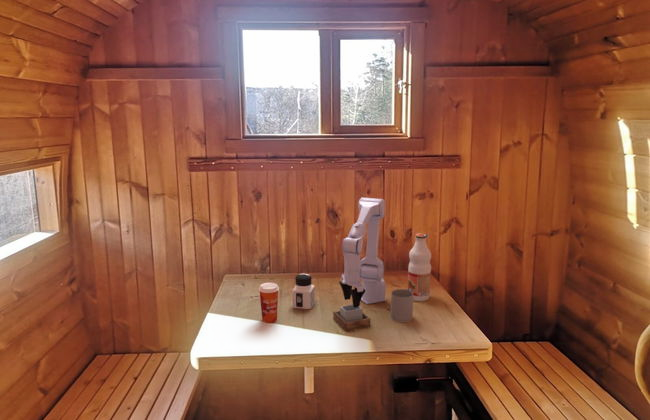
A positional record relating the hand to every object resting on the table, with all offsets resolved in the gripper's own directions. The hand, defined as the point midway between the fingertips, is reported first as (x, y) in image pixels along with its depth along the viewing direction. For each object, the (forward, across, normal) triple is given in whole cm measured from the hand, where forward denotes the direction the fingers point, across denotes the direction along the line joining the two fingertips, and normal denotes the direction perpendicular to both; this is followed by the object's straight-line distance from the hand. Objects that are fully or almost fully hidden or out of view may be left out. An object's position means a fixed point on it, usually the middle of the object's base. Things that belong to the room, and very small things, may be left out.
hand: (351, 302), depth 188 cm
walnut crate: (+8, 0, 0) cm, 8 cm away
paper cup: (+8, -14, -28) cm, 33 cm away
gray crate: (+7, 0, 0) cm, 7 cm away
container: (+8, -22, -11) cm, 26 cm away
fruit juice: (+8, -10, +37) cm, 39 cm away
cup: (+8, +4, +20) cm, 22 cm away
